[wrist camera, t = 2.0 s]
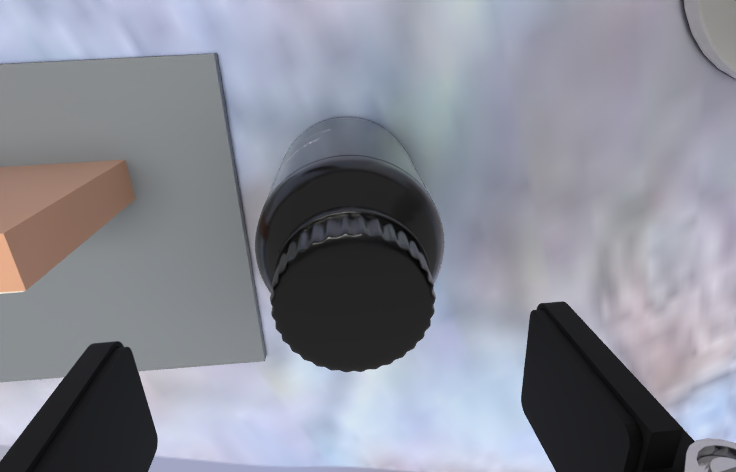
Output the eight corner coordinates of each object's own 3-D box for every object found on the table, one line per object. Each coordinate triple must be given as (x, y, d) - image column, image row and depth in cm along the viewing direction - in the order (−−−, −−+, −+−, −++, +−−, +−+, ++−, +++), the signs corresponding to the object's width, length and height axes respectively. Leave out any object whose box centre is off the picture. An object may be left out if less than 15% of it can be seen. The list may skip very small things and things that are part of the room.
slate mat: (216, 53, 21) (214, 54, 21) (266, 354, 28) (264, 360, 28) (-173, 72, 20) (-187, 73, 20) (-25, 377, 27) (-32, 384, 27)
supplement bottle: (285, 104, 22) (240, 172, 11) (423, 126, 23) (504, 208, 12) (274, 234, 25) (227, 390, 14) (397, 249, 26) (445, 407, 15)
